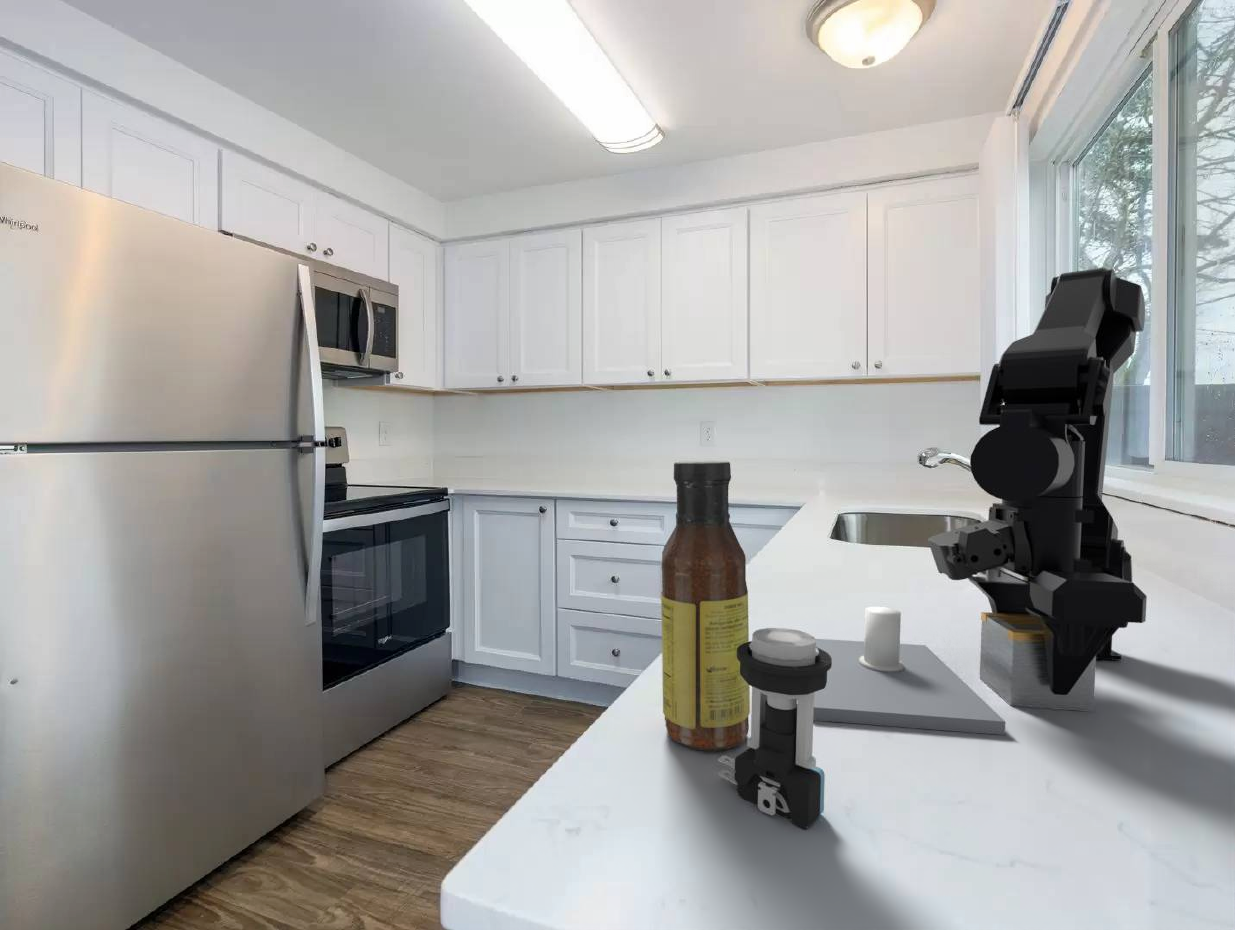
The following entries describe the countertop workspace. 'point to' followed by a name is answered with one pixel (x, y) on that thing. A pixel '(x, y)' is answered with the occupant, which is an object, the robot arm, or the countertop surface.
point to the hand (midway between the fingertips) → (1033, 675)
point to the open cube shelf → (1026, 665)
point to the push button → (781, 725)
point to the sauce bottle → (704, 614)
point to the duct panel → (897, 684)
